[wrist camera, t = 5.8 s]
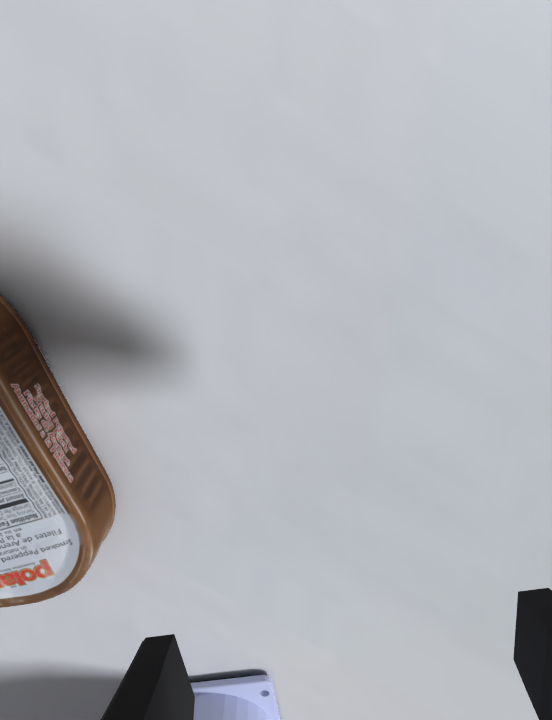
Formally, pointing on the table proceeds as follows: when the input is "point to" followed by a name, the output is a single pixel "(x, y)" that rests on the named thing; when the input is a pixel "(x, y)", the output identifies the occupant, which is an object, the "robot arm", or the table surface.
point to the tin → (44, 477)
